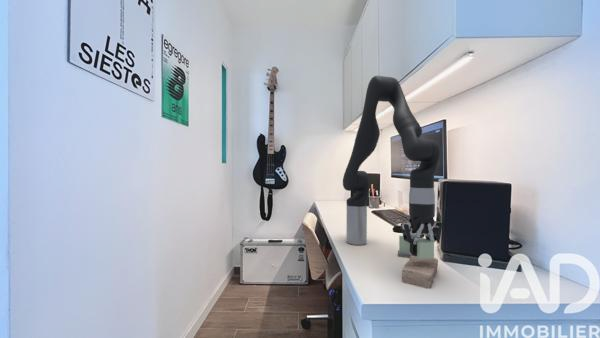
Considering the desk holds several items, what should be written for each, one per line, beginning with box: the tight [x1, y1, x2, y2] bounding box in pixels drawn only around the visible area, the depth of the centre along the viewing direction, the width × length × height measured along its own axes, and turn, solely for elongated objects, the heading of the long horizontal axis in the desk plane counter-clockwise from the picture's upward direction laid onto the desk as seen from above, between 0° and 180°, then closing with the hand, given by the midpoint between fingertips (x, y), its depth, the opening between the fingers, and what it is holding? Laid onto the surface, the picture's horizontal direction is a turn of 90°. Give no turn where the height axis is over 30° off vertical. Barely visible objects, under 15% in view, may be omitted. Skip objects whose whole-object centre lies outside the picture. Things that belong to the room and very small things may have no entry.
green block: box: [410, 237, 435, 259], centre depth 85 cm, size 5×5×5 cm
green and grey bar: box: [397, 234, 411, 259], centre depth 105 cm, size 4×8×8 cm, turn 68°
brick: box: [401, 255, 439, 289], centre depth 85 cm, size 17×8×5 cm, turn 146°
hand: (421, 254), depth 85 cm, fingers closed on green block, 5 cm apart
